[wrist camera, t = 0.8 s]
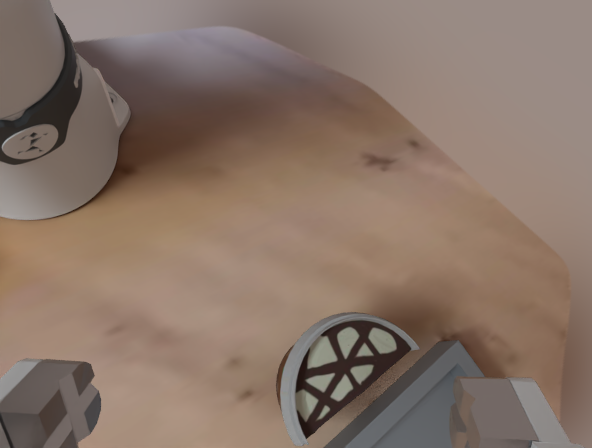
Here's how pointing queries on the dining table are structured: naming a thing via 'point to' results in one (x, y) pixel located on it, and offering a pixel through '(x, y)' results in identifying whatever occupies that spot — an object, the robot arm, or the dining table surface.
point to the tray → (413, 404)
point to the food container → (335, 368)
